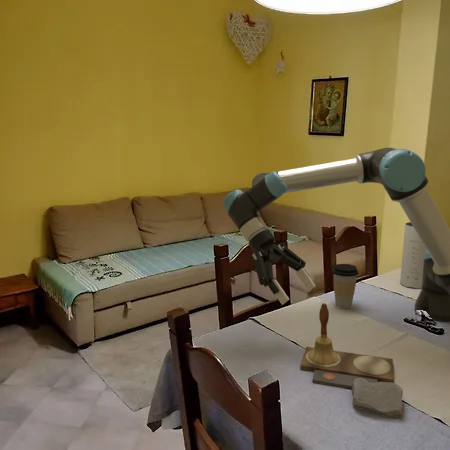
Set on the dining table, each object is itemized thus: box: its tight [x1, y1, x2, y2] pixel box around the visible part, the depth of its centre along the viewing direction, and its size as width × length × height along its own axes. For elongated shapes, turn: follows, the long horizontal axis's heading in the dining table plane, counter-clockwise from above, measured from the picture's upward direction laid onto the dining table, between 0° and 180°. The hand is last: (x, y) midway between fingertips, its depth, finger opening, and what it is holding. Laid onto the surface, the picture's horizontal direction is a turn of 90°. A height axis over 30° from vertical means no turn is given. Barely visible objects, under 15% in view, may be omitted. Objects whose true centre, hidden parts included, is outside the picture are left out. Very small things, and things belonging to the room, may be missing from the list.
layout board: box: [299, 346, 395, 384], centre depth 124 cm, size 24×11×2 cm, turn 71°
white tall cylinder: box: [399, 221, 427, 290], centre depth 183 cm, size 11×10×26 cm
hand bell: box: [308, 303, 338, 365], centre depth 124 cm, size 8×8×16 cm
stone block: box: [351, 379, 405, 418], centre depth 107 cm, size 12×5×10 cm
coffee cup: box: [331, 263, 359, 310], centre depth 164 cm, size 9×9×15 cm
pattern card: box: [311, 370, 378, 390], centre depth 116 cm, size 16×5×1 cm, turn 71°
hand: (299, 295), depth 127 cm, fingers open, 13 cm apart
